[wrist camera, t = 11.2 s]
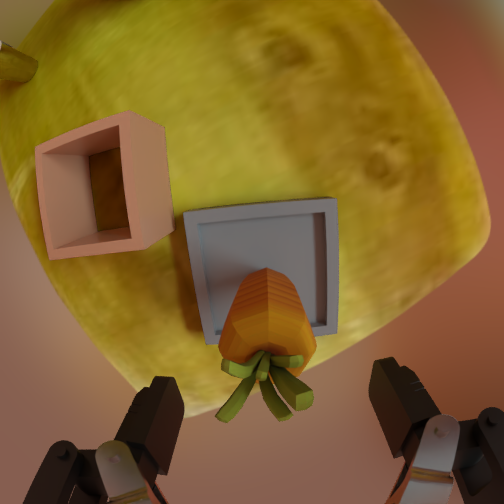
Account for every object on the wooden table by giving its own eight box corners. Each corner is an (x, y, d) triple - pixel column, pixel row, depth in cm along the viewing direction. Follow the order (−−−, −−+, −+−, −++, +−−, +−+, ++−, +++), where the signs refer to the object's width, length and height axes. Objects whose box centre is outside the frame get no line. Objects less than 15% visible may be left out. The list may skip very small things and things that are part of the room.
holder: (82, 150, 21) (35, 147, 15) (164, 127, 21) (129, 110, 14) (93, 240, 24) (49, 260, 17) (175, 229, 23) (144, 249, 16)
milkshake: (19, 98, 19) (-37, 89, 10) (19, 68, 18) (-31, 55, 8) (42, 78, 19) (-15, 61, 9) (42, 48, 18) (-9, 27, 8)
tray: (189, 209, 23) (182, 212, 21) (330, 196, 22) (336, 198, 20) (209, 333, 26) (206, 344, 24) (332, 322, 25) (337, 333, 23)
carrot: (237, 301, 24) (208, 449, 9) (235, 246, 22) (190, 367, 8) (294, 301, 23) (325, 449, 9) (296, 246, 22) (349, 366, 8)
